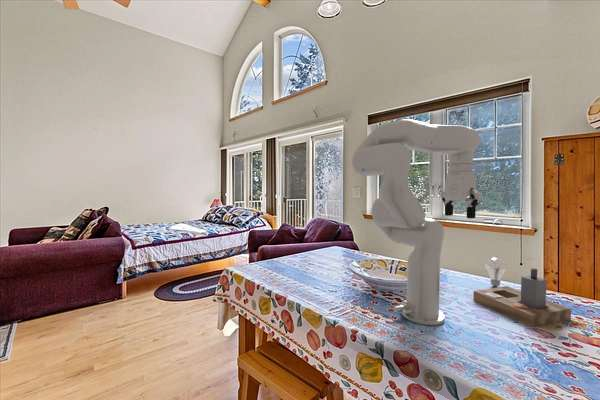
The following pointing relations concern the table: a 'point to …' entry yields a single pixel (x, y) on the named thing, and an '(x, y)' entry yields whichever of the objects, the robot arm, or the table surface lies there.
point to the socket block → (521, 306)
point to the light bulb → (495, 270)
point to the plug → (533, 291)
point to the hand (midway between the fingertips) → (459, 216)
